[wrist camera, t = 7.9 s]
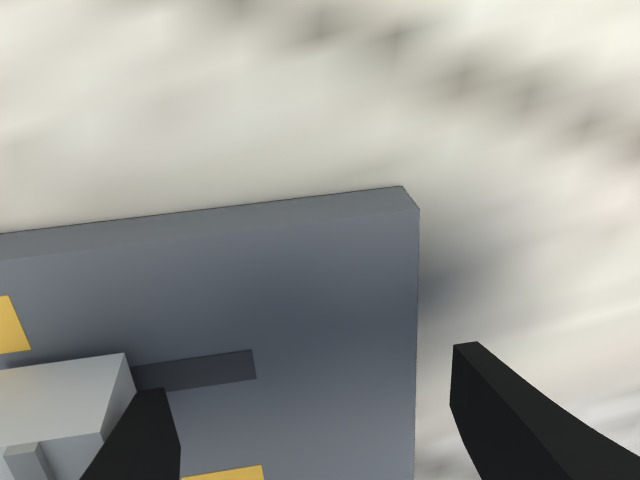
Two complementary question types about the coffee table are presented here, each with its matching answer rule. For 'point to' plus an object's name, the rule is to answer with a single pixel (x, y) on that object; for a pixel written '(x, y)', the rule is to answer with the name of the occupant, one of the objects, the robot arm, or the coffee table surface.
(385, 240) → the switch panel
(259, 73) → the coffee table surface
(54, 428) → the switch
